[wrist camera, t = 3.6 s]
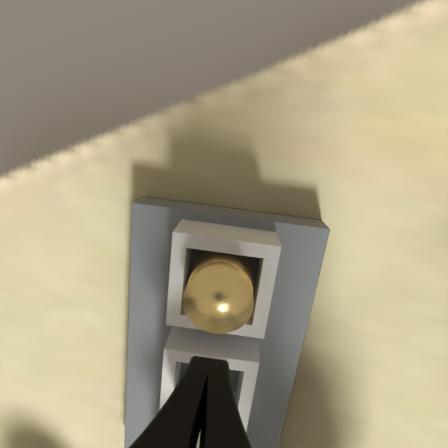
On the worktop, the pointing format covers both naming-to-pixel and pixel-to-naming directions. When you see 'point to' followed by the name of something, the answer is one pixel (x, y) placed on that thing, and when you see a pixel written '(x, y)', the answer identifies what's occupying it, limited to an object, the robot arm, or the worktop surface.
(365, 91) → the worktop surface
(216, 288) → the brass knob
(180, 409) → the robot arm
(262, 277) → the knob mount
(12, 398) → the worktop surface
